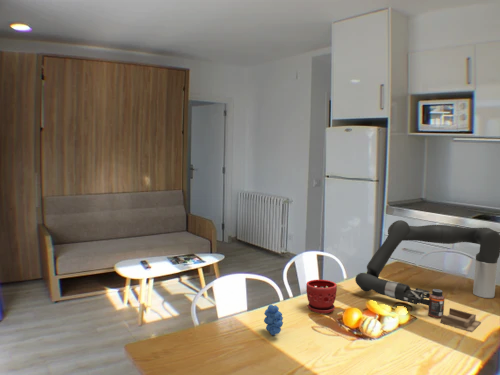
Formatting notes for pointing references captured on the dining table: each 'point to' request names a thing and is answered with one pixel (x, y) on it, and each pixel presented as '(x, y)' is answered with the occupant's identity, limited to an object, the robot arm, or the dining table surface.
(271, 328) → the grapes
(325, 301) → the plant pot
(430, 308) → the supplement bottle
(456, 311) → the wooden tray
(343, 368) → the dining table surface
